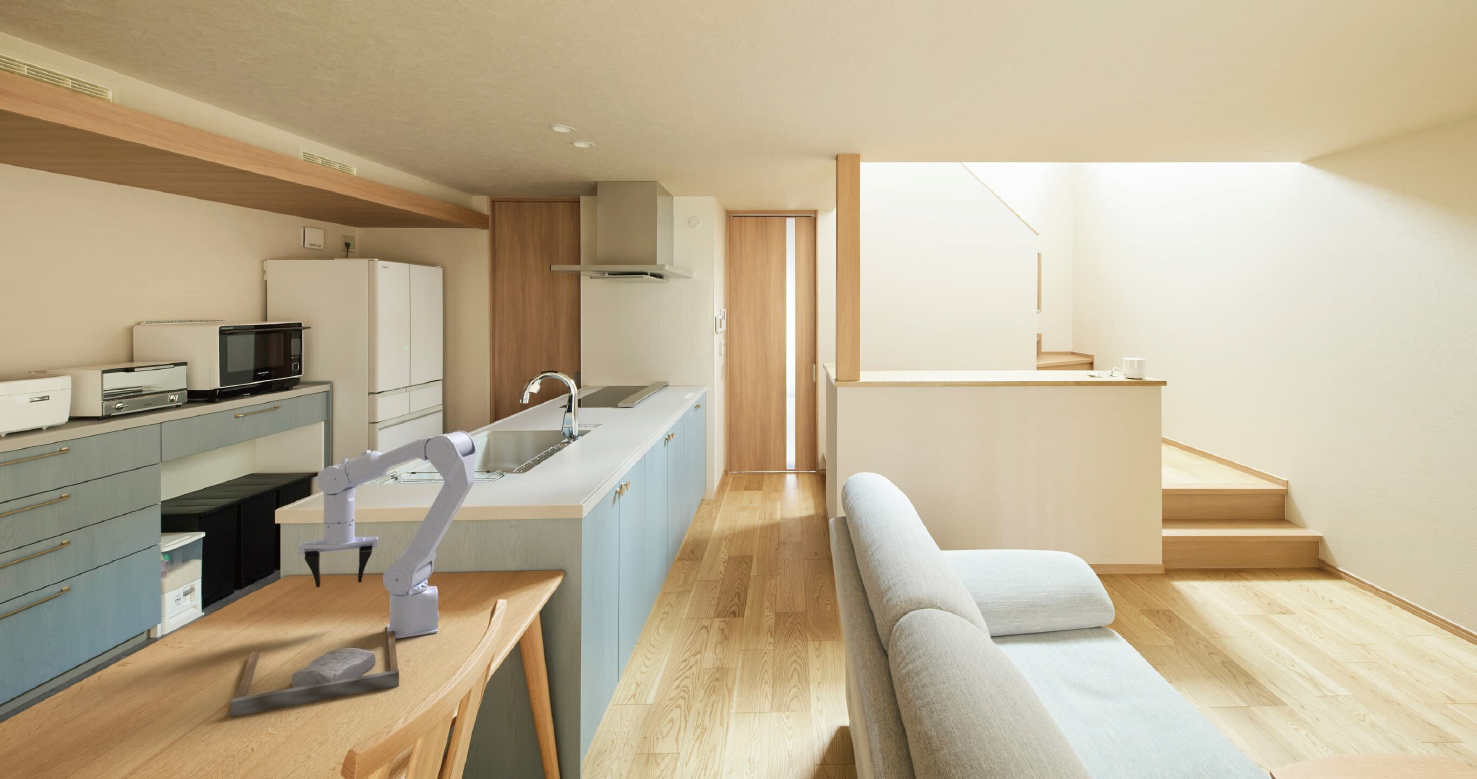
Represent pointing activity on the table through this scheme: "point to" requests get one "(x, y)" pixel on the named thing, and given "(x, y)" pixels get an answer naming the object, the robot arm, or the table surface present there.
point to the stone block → (335, 667)
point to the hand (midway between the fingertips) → (339, 583)
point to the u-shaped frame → (311, 687)
